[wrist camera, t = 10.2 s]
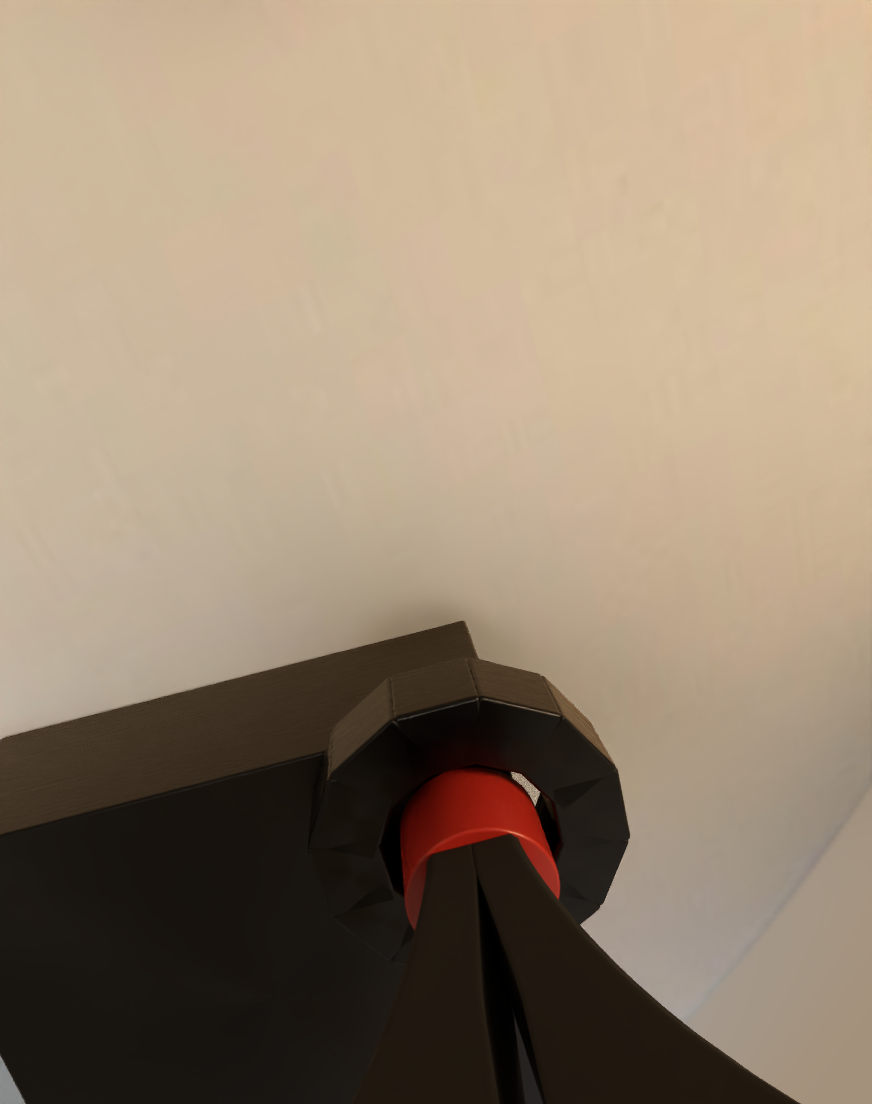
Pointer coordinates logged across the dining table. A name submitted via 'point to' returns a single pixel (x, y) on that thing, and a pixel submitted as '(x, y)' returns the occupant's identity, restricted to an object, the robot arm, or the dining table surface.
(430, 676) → the button box
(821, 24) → the dining table surface
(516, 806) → the button
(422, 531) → the dining table surface
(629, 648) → the dining table surface
